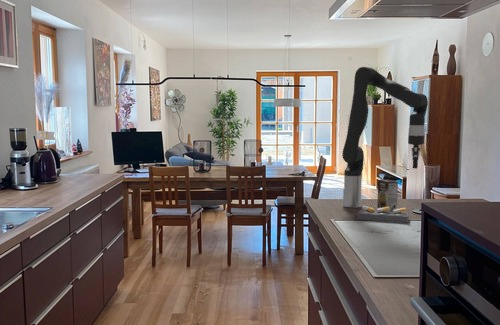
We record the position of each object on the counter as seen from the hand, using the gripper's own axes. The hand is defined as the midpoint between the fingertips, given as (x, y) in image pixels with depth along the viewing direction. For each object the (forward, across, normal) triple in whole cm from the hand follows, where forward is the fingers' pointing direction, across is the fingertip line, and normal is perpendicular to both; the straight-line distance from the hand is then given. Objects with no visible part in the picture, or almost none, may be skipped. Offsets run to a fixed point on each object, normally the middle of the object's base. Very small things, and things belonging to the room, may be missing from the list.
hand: (415, 167), depth 235 cm
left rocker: (+20, +12, -21) cm, 32 cm away
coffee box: (+24, -6, -13) cm, 28 cm away
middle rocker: (+20, +12, -14) cm, 27 cm away
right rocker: (+20, +13, -6) cm, 24 cm away
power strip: (+24, +15, -14) cm, 31 cm away
